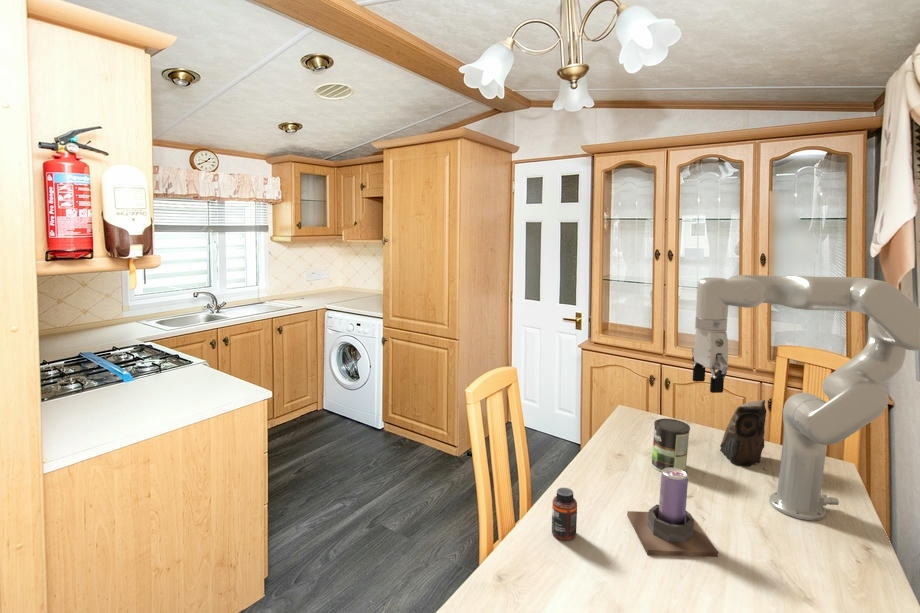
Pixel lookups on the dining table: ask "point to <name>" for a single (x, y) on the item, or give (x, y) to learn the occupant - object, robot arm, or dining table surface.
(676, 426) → the coffee can
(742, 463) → the owl
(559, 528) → the supplement bottle
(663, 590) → the dining table surface
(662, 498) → the beverage can
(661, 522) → the can holder
